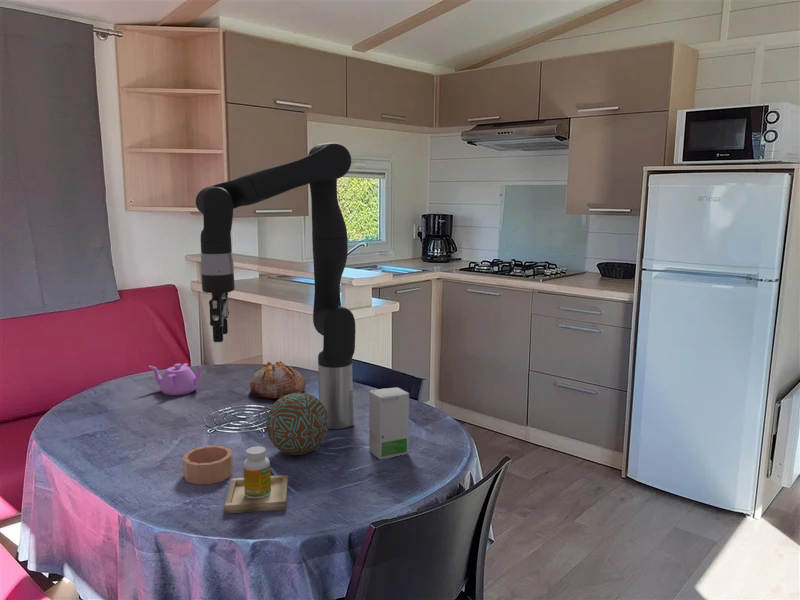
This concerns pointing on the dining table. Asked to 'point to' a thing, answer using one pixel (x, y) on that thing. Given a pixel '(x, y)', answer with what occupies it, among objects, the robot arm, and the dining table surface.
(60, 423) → the dining table surface
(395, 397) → the skincare box
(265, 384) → the bread
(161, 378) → the teapot
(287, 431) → the decorative sphere
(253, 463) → the supplement bottle
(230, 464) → the holder ring
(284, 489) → the tray
